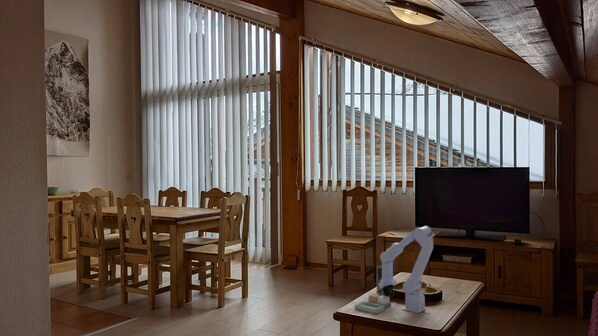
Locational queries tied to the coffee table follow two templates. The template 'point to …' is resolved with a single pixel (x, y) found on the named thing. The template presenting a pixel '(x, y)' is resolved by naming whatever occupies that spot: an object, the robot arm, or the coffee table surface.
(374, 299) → the terracotta tile
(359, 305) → the green tray
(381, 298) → the cream tile
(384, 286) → the robot arm
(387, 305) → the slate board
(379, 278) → the coffee box
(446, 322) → the coffee table surface
